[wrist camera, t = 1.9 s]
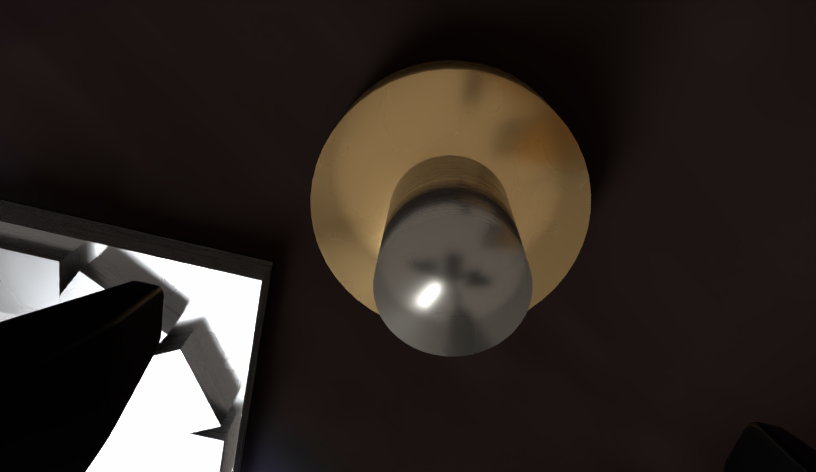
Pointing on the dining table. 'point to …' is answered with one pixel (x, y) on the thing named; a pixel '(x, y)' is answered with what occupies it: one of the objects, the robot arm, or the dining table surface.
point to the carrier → (180, 339)
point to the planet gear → (450, 203)
